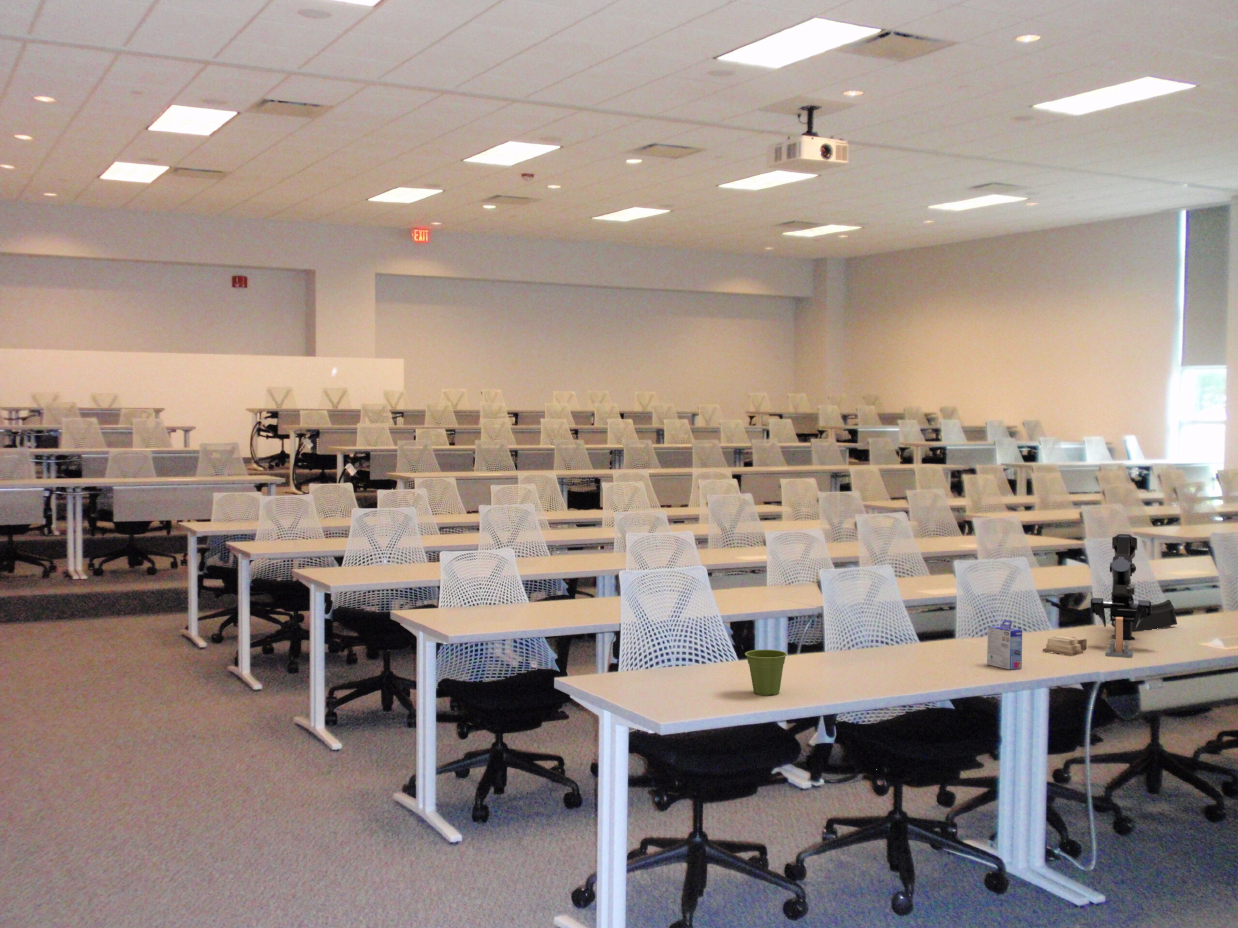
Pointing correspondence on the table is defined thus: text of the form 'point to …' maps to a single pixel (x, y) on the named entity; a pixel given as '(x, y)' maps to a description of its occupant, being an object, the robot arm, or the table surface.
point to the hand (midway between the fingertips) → (1120, 627)
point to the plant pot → (766, 670)
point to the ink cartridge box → (1004, 646)
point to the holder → (1112, 652)
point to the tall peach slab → (1119, 634)
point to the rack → (1066, 645)
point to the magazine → (1156, 617)
